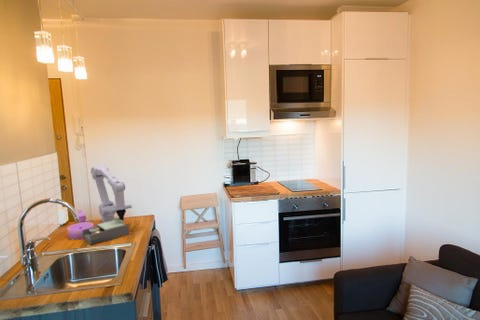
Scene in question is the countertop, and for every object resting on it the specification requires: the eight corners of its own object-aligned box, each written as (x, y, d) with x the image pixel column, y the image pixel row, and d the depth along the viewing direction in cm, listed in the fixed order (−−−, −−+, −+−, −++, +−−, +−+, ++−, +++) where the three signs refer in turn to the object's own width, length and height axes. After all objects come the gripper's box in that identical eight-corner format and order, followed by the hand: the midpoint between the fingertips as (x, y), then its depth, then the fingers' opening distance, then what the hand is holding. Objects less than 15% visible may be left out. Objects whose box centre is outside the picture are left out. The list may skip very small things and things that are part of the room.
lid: (97, 225, 200) (97, 221, 200) (116, 221, 208) (115, 216, 208) (105, 230, 190) (105, 226, 190) (124, 225, 198) (124, 221, 198)
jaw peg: (96, 242, 189) (95, 233, 188) (94, 240, 192) (93, 231, 191) (103, 240, 191) (102, 231, 191) (101, 239, 194) (100, 229, 194)
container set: (94, 236, 199) (92, 217, 197) (67, 241, 192) (65, 221, 191) (93, 225, 221) (91, 207, 220) (69, 229, 215) (67, 211, 213)
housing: (83, 239, 195) (82, 229, 194) (120, 229, 211) (120, 220, 210) (90, 245, 185) (89, 235, 184) (129, 234, 201) (128, 225, 200)
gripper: (111, 204, 194) (113, 224, 196) (133, 199, 204) (134, 219, 206) (106, 202, 199) (108, 222, 201) (128, 197, 209) (130, 217, 211)
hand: (121, 220), depth 204 cm, fingers closed
